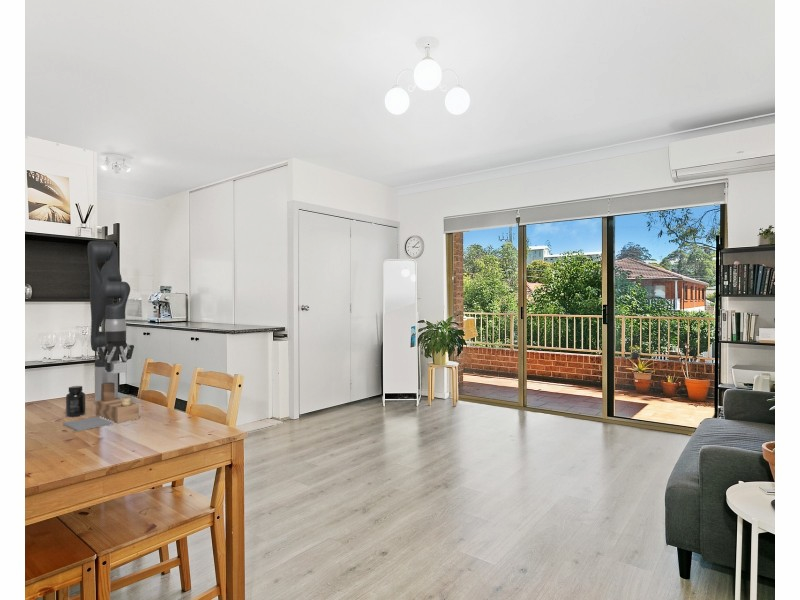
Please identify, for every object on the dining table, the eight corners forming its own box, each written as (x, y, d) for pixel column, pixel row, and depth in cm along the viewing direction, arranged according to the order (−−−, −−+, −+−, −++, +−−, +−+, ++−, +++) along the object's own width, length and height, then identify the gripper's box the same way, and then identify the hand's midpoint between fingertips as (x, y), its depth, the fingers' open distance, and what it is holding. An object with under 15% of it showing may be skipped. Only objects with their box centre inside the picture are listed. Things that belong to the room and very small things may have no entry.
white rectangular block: (105, 371, 197) (105, 361, 197) (117, 369, 201) (117, 360, 201) (113, 373, 193) (113, 363, 193) (126, 371, 197) (126, 362, 197)
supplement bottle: (89, 413, 204) (89, 385, 203) (77, 417, 197) (76, 388, 197) (74, 412, 204) (74, 384, 204) (61, 417, 198) (61, 388, 197)
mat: (63, 425, 186) (63, 423, 186) (97, 418, 195) (97, 416, 195) (77, 431, 177) (77, 429, 177) (112, 424, 187) (112, 422, 187)
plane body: (96, 415, 201) (96, 384, 200) (116, 411, 207) (116, 381, 207) (117, 423, 189) (117, 390, 189) (138, 419, 195) (138, 387, 195)
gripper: (129, 328, 205) (129, 367, 205) (92, 330, 193) (92, 372, 193) (138, 329, 200) (138, 369, 201) (100, 331, 189) (100, 374, 189)
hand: (115, 370), depth 197 cm, fingers closed on white rectangular block, 5 cm apart
